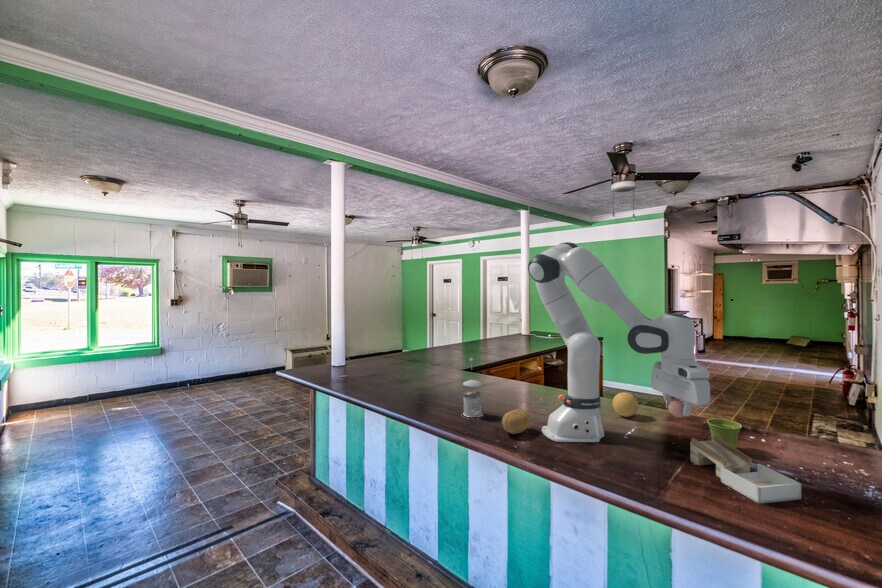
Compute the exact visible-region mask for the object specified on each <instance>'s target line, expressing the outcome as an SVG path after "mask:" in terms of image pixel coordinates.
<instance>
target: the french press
mask: <svg viewBox="0 0 882 588" xmlns="http://www.w3.org/2000/svg"><path fill="white" fill-rule="evenodd" d="M474 361H475V360H474V358H473V357H470V358H469V362H471V363H470V365H471V369H473V362H474ZM462 385H463V387H466V388H477V389H478V391H477V390H466V391H464V395H463V412H462V413H463V415H464V416H466V417H481V416H483V414H484V413H483V412H482V399H483V395H484V394H483V387H482V383H481V382H480V381H478V380H476V379H469V380H466V381H464V382H463V383H462ZM480 389H481V391H480ZM483 417H484V416H483ZM481 418H482V417H481Z"/></svg>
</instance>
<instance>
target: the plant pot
mask: <svg viewBox="0 0 882 588" xmlns="http://www.w3.org/2000/svg"><path fill="white" fill-rule="evenodd" d="M706 423H707V424H708V428H709V430H710V437H711V440H714V436H717V437H719V438H720V439H722V440H724V441H725V442H727V443H728V444H730V445H731V446H733V447H734V448H736V449H737V443H738V438H739V433H740V431H741V429H742V428H743V426H742V424H741V423H739V422H736V421H733V420H729V419H726V418H725V419H724V418H708V419H707V420H706Z"/></svg>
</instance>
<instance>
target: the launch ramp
mask: <svg viewBox="0 0 882 588" xmlns="http://www.w3.org/2000/svg"><path fill="white" fill-rule="evenodd" d="M689 445H690V446H689V447H690V451H689V452H690V458H689V459H690V462H691V463H693V464H695V465H697V466H709V465H715V476H716V477H717V478H720V479H721V467H723V468H725V469H727V470H729V471H731V472H732V473H734V474H739V473H750V472H751V467H752V465H753V462H752V461H753V458H751V457H750V456H748V455H746V454H745V453H744V452H742V451H741V450H739V449H738V448H737V447H736V448H734V447H733V446H731V445H730V444H728V443H727V442H725V441H724V440H722V439H720V438H719V437H717V436H714V440H712V439H711V440H698V439H697V438H695V437H691V440H690V443H689Z"/></svg>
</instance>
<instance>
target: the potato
mask: <svg viewBox="0 0 882 588" xmlns="http://www.w3.org/2000/svg"><path fill="white" fill-rule="evenodd" d="M530 424H531V417H530V414H529V413H528V412H527V411H526V410H525V409H523V408H516V409H513V410H510V411H508V412H506V413H505V414H504V415H503V417H502V419H501V425H502V427H503V429H504V430H505V431H506V432H507V433H509V434H510V435H516V434H520V433H523V432H525V431H526V430H527V429H528V428H529V427H530V426H531V425H530Z"/></svg>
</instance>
